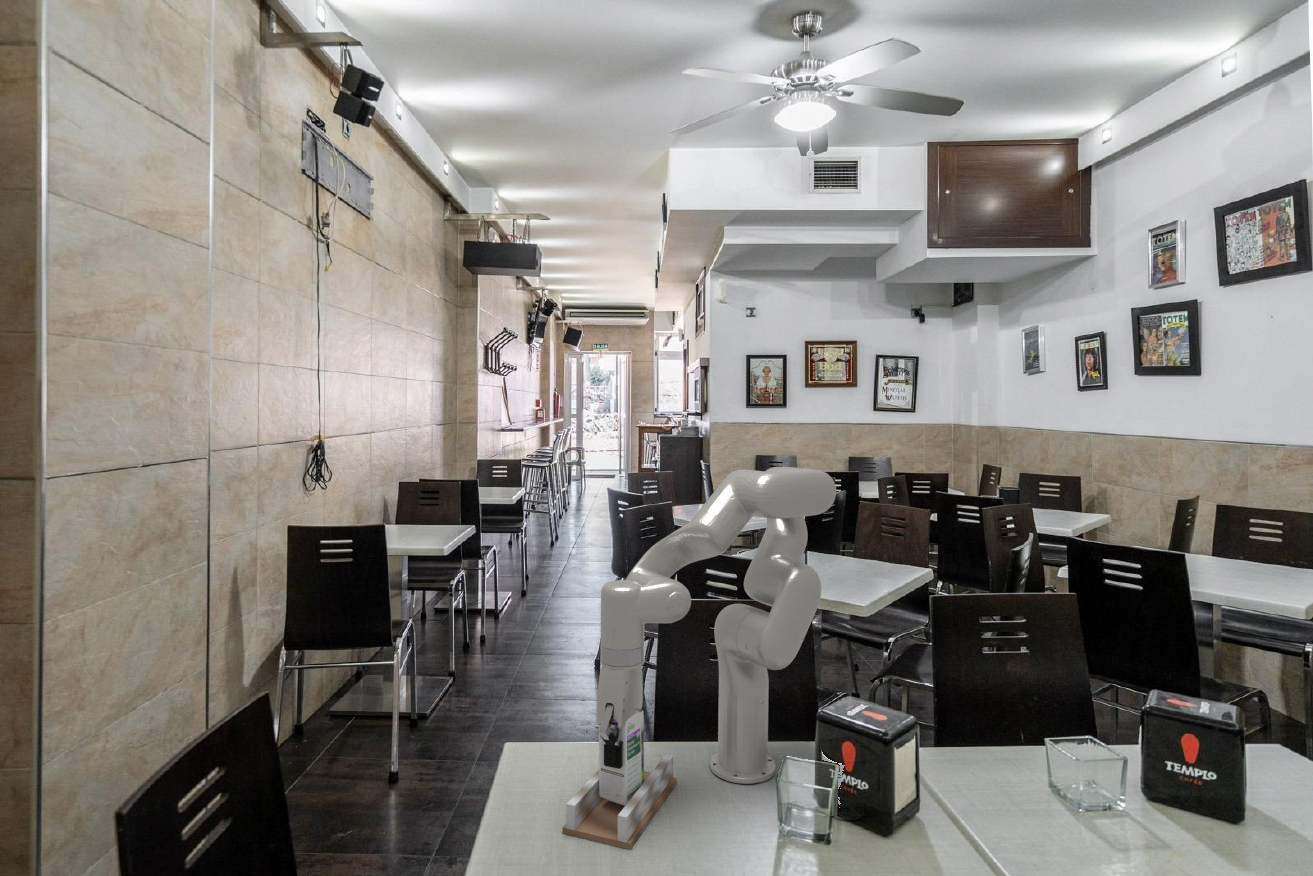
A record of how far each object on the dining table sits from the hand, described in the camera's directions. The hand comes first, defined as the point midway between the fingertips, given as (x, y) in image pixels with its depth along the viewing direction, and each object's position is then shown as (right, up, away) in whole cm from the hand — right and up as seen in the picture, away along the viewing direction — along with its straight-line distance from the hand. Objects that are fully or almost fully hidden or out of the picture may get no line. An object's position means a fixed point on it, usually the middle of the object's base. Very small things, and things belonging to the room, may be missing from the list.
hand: (621, 756), depth 124 cm
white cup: (+39, -10, +1) cm, 40 cm away
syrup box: (0, -7, 0) cm, 7 cm away
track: (0, -9, +1) cm, 9 cm away
